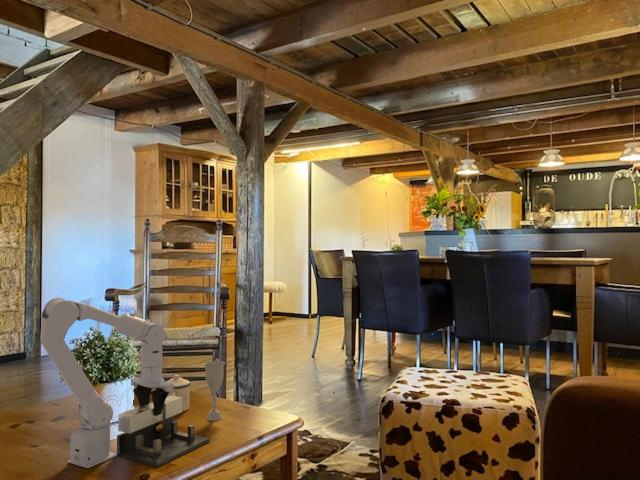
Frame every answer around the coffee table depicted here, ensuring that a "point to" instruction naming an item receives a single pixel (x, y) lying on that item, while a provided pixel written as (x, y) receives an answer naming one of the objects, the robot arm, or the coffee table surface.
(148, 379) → the robot arm
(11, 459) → the coffee table surface
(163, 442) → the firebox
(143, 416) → the cream rectangular block
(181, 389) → the teacup with lid
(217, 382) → the chalice
